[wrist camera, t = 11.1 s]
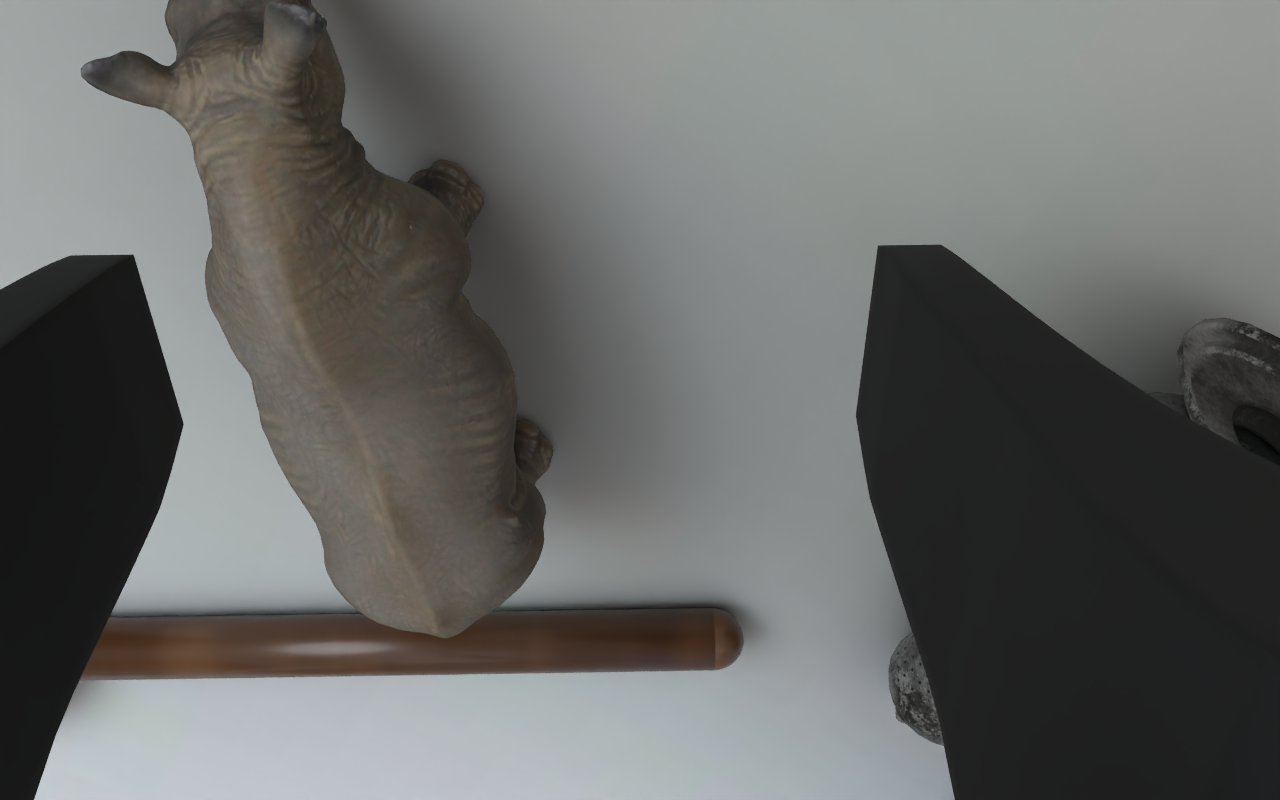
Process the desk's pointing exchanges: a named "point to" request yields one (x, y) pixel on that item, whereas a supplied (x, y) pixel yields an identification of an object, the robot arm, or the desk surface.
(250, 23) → the rhino figurine
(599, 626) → the brown long-handled part
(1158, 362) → the desk surface
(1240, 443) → the grey weathered turned ornament
